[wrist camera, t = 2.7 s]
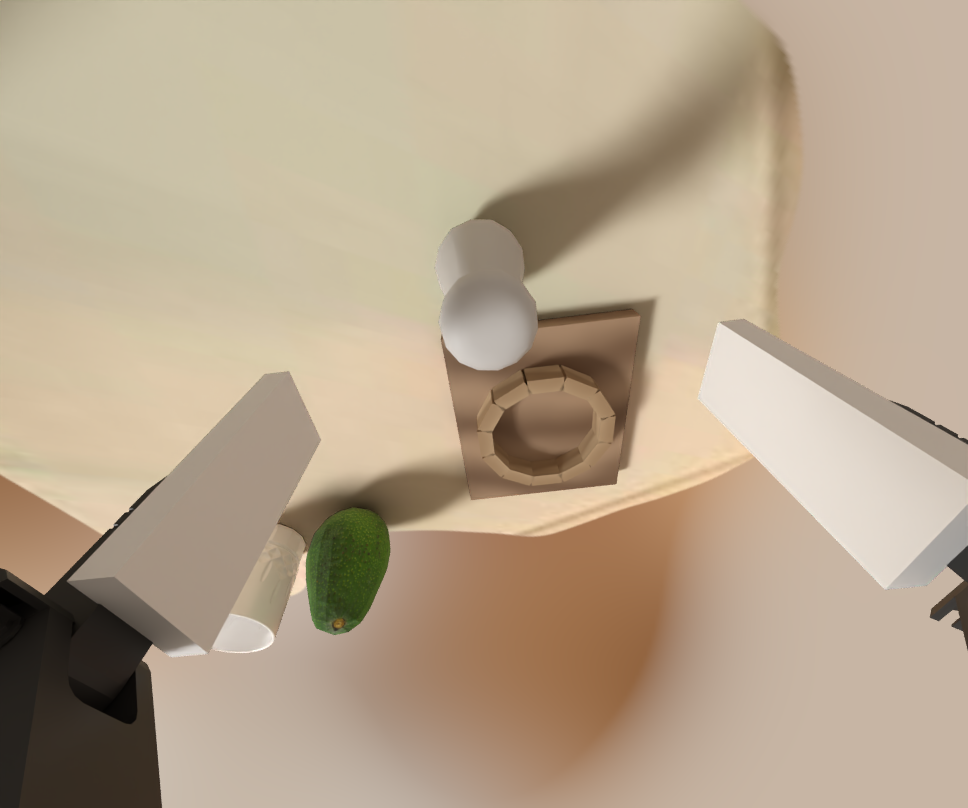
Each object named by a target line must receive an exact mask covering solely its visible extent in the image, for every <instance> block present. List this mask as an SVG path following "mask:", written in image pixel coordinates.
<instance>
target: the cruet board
mask: <svg viewBox="0 0 968 808" xmlns="http://www.w3.org/2000/svg"><path fill="white" fill-rule="evenodd" d="M640 317H641V316H640V315H639V314H638V313H637V312H636V311H634V310H633V309H629V310H621V311H613V312H604V313H596V314H587V315H579V316H571V317H562V318H554V319H546V320H538V330H537V333H536V336H535V339H534V341H533V344H532V347H531V349H530V350H529V351H528V352H527V353H526V354H525V355H524V356H523V357H522V358H521V359H520V360H519V361H518V362H517V363H514V364H512V365H510V366H507V367H505V368H503V369H500V370H476V369H474V368H471V367H469V366H467V365H464V364H462V363H459V362H458V360H457V359H456V358H455V357H454V356H453V355H452V354H451V352H450V351H449V350H448V349H447V348H446V346H445V342H444V339H443V336H441V342H442V348H443V353H444V358H445V363H446V369H447V374H448V379H449V385H450V390H451V395H452V401H453V406H454V411H455V417H456V422H457V427H458V433H459V438H460V443H461V449H462V454H463V459H464V464H465V470H466V475H467V480H468V486H469V491H470V496H471V500H476V499H485V498H494V497H503V496H513V495H522V494H531V493H540V492H549V491H558V490H567V489H576V488H585V487H594V486H604V485H613V484H616V483H617V476H618V469H619V462H620V455H621V448H622V442H623V435H624V428H625V421H626V414H627V407H628V400H629V393H630V386H631V379H632V373H633V366H634V359H635V352H636V345H637V338H638V331H639V324H640Z"/></svg>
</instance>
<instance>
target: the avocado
mask: <svg viewBox="0 0 968 808" xmlns="http://www.w3.org/2000/svg"><path fill="white" fill-rule="evenodd" d="M389 556H390V540H389V533H388V528H387V526H386V524H385V522H384V521H383V520H382V519H381V517H380V516H379V515H378V514H376V513H374V512H372V511H370V510H366V509H361V508H355V507H353V508H349V509H345V510H342V511H339V512H337V513H335V514H334V515H332V516H330V517H329V518H328V519H327V520H326V521H325V522H324V523H323V524H322V525H321V527H320V528H319V529H318V530H317V531H316V532H315V534H314V536H313V539H312V542H311V545H310V548H309V551H308V553H307V558H306V583H307V591H308V598H309V604H310V611H311V616H312V620H313V622H314V624H315V627H316V628H317V629H319V630H322V631H325V632H328V633H330V634H333V635H337V634H341V633H346V632H349V631H350V630H351V629H353V628H354V627H356V626H357V625H358V624H360V622H361V621H362V620H363V618H364V617H365V615H366V614H367V612H368V611H369V609H370V607H371V605H372V603H373V600H374V598H375V596H376V594H377V591H378V589H379V587H380V584H381V582H382V580H383V578H384V575H385V573H386V570H387V567H388V561H389Z"/></svg>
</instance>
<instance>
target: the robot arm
mask: <svg viewBox="0 0 968 808" xmlns="http://www.w3.org/2000/svg"><path fill="white" fill-rule="evenodd" d="M698 399H699V401H700V402H701V403H702V404H703V405H704V406H705V407H706V408H707V409H708V410H709V411H710V412H711V413H712V414H713V415H714V416H715V417H716V418H717V419H718V420H719V421H720V422H721V423H722V424H723V425H724V426H725V427H726V428H727V429H728V430H729V431H730V432H731V433H732V434H733V435H734V436H735V437H736V438H737V439H738V440H739V441H740V442H741V443H742V444H743V445H744V446H745V447H746V448H747V449H748V451H749V452H750V453H751V454H752V455H753V456H754V457H755V458H756V459H757V460H758V461H759V462H760V463H761V464H762V465H763V466H764V467H765V468H766V469H767V470H768V471H769V472H770V473H771V474H772V475H773V476H774V477H775V478H776V479H777V480H778V481H779V482H780V483H781V484H782V485H783V486H784V487H785V488H786V489H787V490H788V491H789V492H790V493H791V494H792V495H793V496H794V497H795V498H796V499H797V500H798V501H799V502H800V504H801V505H802V506H803V507H804V508H805V509H806V510H807V511H808V512H809V513H810V514H811V515H812V516H813V517H814V518H815V519H816V520H817V521H818V522H819V523H820V524H821V525H822V526H823V527H824V528H825V529H826V530H827V531H828V532H829V533H830V534H831V535H832V536H833V537H834V538H835V539H836V540H837V541H838V542H839V543H840V544H841V545H842V546H843V547H844V548H845V549H846V550H847V551H848V552H849V554H850V555H851V556H852V557H853V558H854V559H855V560H856V561H857V562H858V563H859V564H860V565H861V566H862V567H863V568H864V569H865V570H866V571H867V572H868V573H869V574H870V575H871V576H872V577H873V578H874V579H875V580H876V581H877V582H878V583H879V584H880V585H881V586H882V587H883V588H884V589H885V590H887V589H899V588H909V587H920V586H927V585H928V584H929V583H930V582H931V581H932V580H934V578H936V577H937V576H938V575H939V574H940V573H941V572H942V571H943V570H944V569H945V568H946V567H947V566H948V567H949V568H950V569H952V570H953V571H954V572H955V573H956V574H958V575H959V576H960V577H961V578H962V579H964V581H963V582H962V583H961V584H960V585H958V586H957V587H956V588H955V589H954V590H953V591H952V592H950V593H949V594H948V595H947V596H946V597H945V598H944V599H942V600H941V601H940V602H939V603H938V604H936V605H935V606H934V607H933V608H932V609H931V614H930V618H932V619H935V620H937V621H939V620H941V619H942V618H943V617H944V616H945V615H947V614H948V613H949V612H951V611H952V610H957V611H959V616H960V618H959V619H957V620H956V621H955V622H954V623H953V624H952V627H954V628H957V629H959V630H961V631H963V632H964V637H965V641H966V645H967V649H968V440H967V439H965V438H958V434H956V433H954V432H952V431H950V430H949V429H947V428H945V427H943V426H942V425H935V422H934V421H932V420H931V419H929V418H927V417H925V416H923V415H922V414H920V413H918V412H916V411H914V410H913V409H911V408H909V407H907V406H904V405H901V404H899V403H896V402H893V401H890V400H888V399H886V398H884V397H882V396H880V395H879V394H877V393H875V392H873V391H871V390H870V389H868V388H866V387H864V386H863V385H861V384H859V383H857V382H855V381H854V380H852V379H850V378H848V377H846V376H845V375H843V374H841V373H839V372H838V371H836V370H834V369H832V368H831V367H828V366H827V365H825V364H823V363H822V362H820V361H818V360H816V359H815V358H813V357H811V356H809V355H807V354H806V353H804V352H802V351H800V350H799V349H797V348H795V347H793V346H791V345H790V344H788V343H786V342H784V341H783V340H781V339H779V338H777V337H775V336H774V335H772V334H770V333H768V332H766V331H765V330H763V329H761V328H759V327H758V326H756V325H754V324H752V323H750V322H749V321H747V320H745V319H740V320H731V321H723V322H718V325H717V329H716V333H715V336H714V340H713V344H712V347H711V351H710V355H709V358H708V362H707V366H706V370H705V373H704V377H703V381H702V384H701V388H700V392H699V395H698ZM320 441H321V439H320V437H319V435H318V432H317V430H316V428H315V426H314V424H313V422H312V420H311V417H310V415H309V413H308V411H307V409H306V407H305V405H304V402H303V400H302V398H301V396H300V394H299V392H298V390H297V387H296V385H295V383H294V381H293V379H292V377H291V375H290V372H289V371H288V372H279V373H271V374H264V375H263V377H262V378H261V379H260V380H259V381H258V382H257V383H256V384H255V385H254V386H253V387H252V388H251V389H250V390H249V391H248V392H247V393H246V394H245V395H244V396H243V397H242V398H241V400H240V401H239V402H238V403H237V404H236V405H235V406H234V407H233V408H232V409H231V410H230V411H229V412H228V413H227V414H226V415H225V416H224V417H223V418H222V419H221V420H220V421H219V423H218V424H217V425H216V426H215V427H214V428H213V429H212V430H211V431H210V432H209V433H208V434H207V435H206V436H205V437H204V438H203V439H202V440H201V441H200V442H199V443H198V444H197V446H196V447H195V448H194V449H193V450H192V451H191V452H190V453H189V454H188V455H187V456H186V457H185V458H184V459H183V460H182V461H181V462H180V463H179V464H178V465H177V466H176V467H175V469H174V470H173V471H172V472H171V473H170V474H169V475H168V476H166V477H165V478H163V479H162V480H161V481H159V482H158V483H156V484H155V485H154V486H152V487H151V488H149V489H148V490H147V491H146V492H145V493H144V494H143V495H142V496H141V497H140V498H139V499H138V500H137V501H136V502H135V503H134V504H133V505H132V506H131V507H130V508H129V512H126V513H124V514H123V515H122V516H121V517H120V518H119V519H118V520H117V522H116V523H115V524H114V528H113V529H109V530H108V531H107V532H106V533H105V534H104V535H103V536H102V537H101V538H100V539H99V540H98V541H97V542H96V543H95V544H94V545H93V546H92V547H91V548H90V549H89V550H88V551H87V552H86V553H85V554H84V555H83V556H82V557H81V558H80V559H79V560H78V561H77V562H76V563H75V565H74V566H73V567H72V568H71V569H70V570H69V571H68V572H67V573H66V574H65V575H64V576H63V577H62V578H61V579H60V580H59V581H58V582H57V583H56V584H55V585H54V586H53V587H52V588H51V589H50V590H49V591H48V592H47V593H46V594H45V595H43V594H42V593H40V592H38V591H37V590H35V589H34V588H33V587H31V586H30V585H28V584H27V583H25V582H23V581H22V580H21V579H19V578H18V577H16V576H15V575H13V574H12V573H10V572H8V571H7V570H5V569H1V568H0V808H162V803H161V790H160V778H159V767H158V755H157V742H156V731H155V719H154V706H153V694H152V682H151V672H150V670H149V667H148V665H147V664H146V663H145V662H143V661H142V658H143V657H144V656H145V654H146V652H147V651H148V649H149V648H150V646H151V645H152V644H154V645H155V646H156V647H157V648H159V649H160V650H162V651H163V652H164V653H166V654H167V655H168V656H170V657H179V656H190V655H201V654H208V653H209V652H210V650H211V648H212V646H213V644H214V642H215V640H216V639H217V637H218V635H219V633H220V631H221V629H222V627H223V625H224V623H225V621H226V620H227V618H228V616H229V614H230V612H231V610H232V608H233V606H234V604H235V602H236V601H237V599H238V597H239V595H240V593H241V591H242V589H243V587H244V585H245V583H246V582H247V580H248V578H249V576H250V574H251V572H252V570H253V568H254V566H255V564H256V563H257V561H258V559H259V557H260V555H261V553H262V551H263V549H264V547H265V545H266V544H267V542H268V540H269V538H270V536H271V534H272V532H273V530H274V528H275V526H276V525H277V523H278V521H279V519H280V517H281V515H282V513H283V511H284V509H285V507H286V506H287V504H288V502H289V500H290V498H291V496H292V494H293V492H294V490H295V488H296V487H297V485H298V483H299V481H300V479H301V477H302V475H303V473H304V471H305V469H306V468H307V466H308V464H309V462H310V460H311V458H312V456H313V454H314V452H315V450H316V449H317V447H318V445H319V443H320Z"/></svg>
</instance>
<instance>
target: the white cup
mask: <svg viewBox="0 0 968 808" xmlns="http://www.w3.org/2000/svg"><path fill="white" fill-rule="evenodd" d="M305 546H306V544H305V542H304V539H303V537H302V536H301V535H300V534H299V533H297V532H296V531H295V530H293V529H291V528H289V527H286V526H283V525H281V524H277V525H276V526H275V528H274V530H273V532H272V534H271V536H270V538H269V540H268V542H267V544H266V545H265V547H264V549H263V551H262V553H261V555H260V557H259V559H258V561H257V563H256V564H255V566H254V568H253V570H252V572H251V574H250V576H249V578H248V580H247V582H246V583H245V585H244V587H243V589H242V591H241V593H240V595H239V597H238V599H237V601H236V602H235V604H234V606H233V608H232V610H231V612H230V614H229V616H228V618H227V620H226V621H225V623H224V625H223V627H222V629H221V631H220V633H219V635H218V637H217V639H216V640H215V642H214V644H213V646H212V648H211V649H213V650H217V651H223V652H231V653H247V652H255V651H260V650H263V649H265V648H267V647H269V646H270V645H271V644H272V643H273V642H274V640H275V637H276V634H277V631H278V629H279V626H280V623H281V620H282V617H283V614H284V611H285V608H286V605H287V603H288V600H289V597H290V594H291V591H292V587H293V585H294V582H295V579H296V575H297V573H298V567H299V564H300V560H301V557H302V554H303V552H304V549H305Z"/></svg>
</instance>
